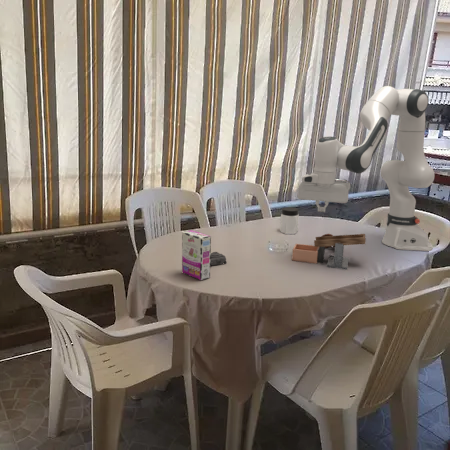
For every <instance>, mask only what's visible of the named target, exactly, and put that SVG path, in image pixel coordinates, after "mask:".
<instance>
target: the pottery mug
mask: <svg viewBox="0 0 450 450" xmlns="http://www.w3.org/2000/svg"><path fill="white" fill-rule="evenodd" d="M323 236H334V235H333V234H332V233H326V234H323V235H321V236H320V237H323ZM327 248H334V249H335V246H325V249H327Z"/></svg>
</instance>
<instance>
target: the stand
mask: <svg viewBox="0 0 450 450" xmlns="http://www.w3.org/2000/svg"><path fill="white" fill-rule="evenodd" d="M344 248H345V245H343V243H335V248H334V255H329V257H328V260H327V263H326V268H333V269H341V270H348V268H349V267H348V266H349V260H350V259H349V258H350V257H349V256H344ZM325 249H326V248H325V246H323V247H319V255H318V261H317V264H319V263H320V264H323V263H324V260H325V251H326V250H325Z"/></svg>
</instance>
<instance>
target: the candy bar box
mask: <svg viewBox="0 0 450 450" xmlns="http://www.w3.org/2000/svg"><path fill="white" fill-rule="evenodd" d="M181 234H182V236H181V242H182V243H181V247H182V248H181V253H182V255H181V257H182V258H181V265H182V266H181V268H182V269H181V273H182V272H183V273H182V274H184V273H185V274H184V275H186V274H187V275H186V276H188V275H190V276H189V277H191V276H192V277H191V278H193V277H194V279H196V278H197V279H196V280H198V279H199V280H198V281H200V280H202V281H205V280H208V279H210V278H211V266H210V255H211V253H212V251H211V250H212V249H211V245H212V240H211V239H212V236H211V235H208V234H205V233H201V232H199V231H196V230H191V229H190V230H185V231H182V232H181ZM207 278H208V279H207ZM204 279H205V280H204Z"/></svg>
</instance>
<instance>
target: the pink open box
mask: <svg viewBox="0 0 450 450" xmlns="http://www.w3.org/2000/svg"><path fill="white" fill-rule="evenodd" d="M318 255H319V247H315V245H312V244H311V245H310V244H303V243H295V244H294V245H293V249H292V255H291V261H293V262H299V263H300V262H301V263H308V264H318Z"/></svg>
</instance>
